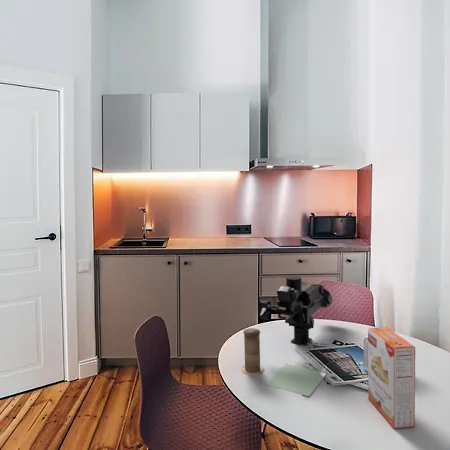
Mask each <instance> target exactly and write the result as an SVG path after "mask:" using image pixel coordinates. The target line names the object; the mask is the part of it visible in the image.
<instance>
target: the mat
mask: <svg viewBox="0 0 450 450" xmlns="http://www.w3.org/2000/svg"><path fill="white" fill-rule="evenodd" d="M318 371H319V370H313V369H309V368H306V367H301V366H296V365H292V364H288V363H286V364H285V365H283V367H281V368H280V370H278V371H277V372H276V373H275V374H274V375H273V376H272V377H271V378H270V379H269V380H268V381H267V382H266V383H265V384H264V386H269V387H273V388H276V389H281V390H284V391H288V392H291V393H295V394H300V395H301V396H302V397H304V398H310V397H311V396H312V395H313V393H314V392H315V390H316V389H317V388H318V387H319V385H320V384H321V383H322V382H323V380H324V379H325V377H323V376H322V375H321V374H320V373H319V372H320V371H319V372H318Z"/></svg>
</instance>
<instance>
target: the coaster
mask: <svg viewBox="0 0 450 450" xmlns="http://www.w3.org/2000/svg"><path fill="white" fill-rule="evenodd" d="M265 371H266V368H265V367H264V366H263V365H261V364H260V371H259V372H256V373H249V372H247V371H246V370H245V364H244V365H243V366H241V368H240V372H241V373H242V374H244V375H247V376H258V375H261V374H263V373H265Z"/></svg>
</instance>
